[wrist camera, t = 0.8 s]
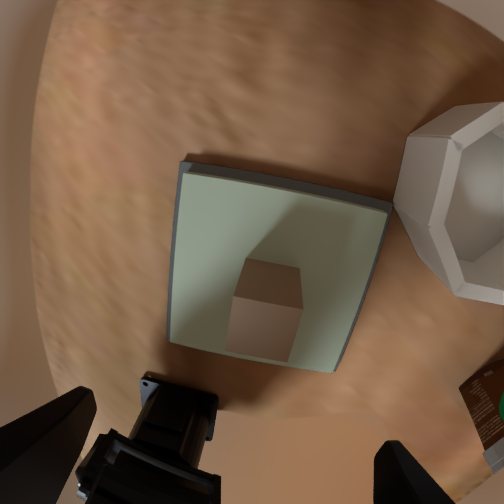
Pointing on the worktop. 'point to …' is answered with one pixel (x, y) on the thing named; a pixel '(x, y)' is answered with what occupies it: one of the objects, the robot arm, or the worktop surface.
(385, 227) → the mat
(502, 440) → the food container
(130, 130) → the worktop surface
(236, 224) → the lid
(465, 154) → the bowl
